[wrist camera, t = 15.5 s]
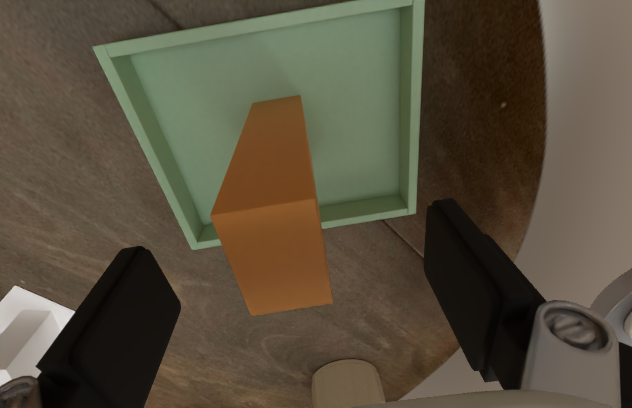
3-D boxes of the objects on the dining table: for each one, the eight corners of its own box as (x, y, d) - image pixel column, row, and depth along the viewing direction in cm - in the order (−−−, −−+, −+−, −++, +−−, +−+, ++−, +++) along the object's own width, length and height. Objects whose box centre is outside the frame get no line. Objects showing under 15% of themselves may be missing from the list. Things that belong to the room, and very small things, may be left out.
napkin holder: (12, 284, 26) (-52, 347, 21) (138, 338, 31) (110, 399, 26) (-52, 361, 30) (-115, 428, 26) (66, 397, 35) (32, 458, 31)
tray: (408, -10, 16) (425, -13, 14) (404, 195, 24) (416, 213, 22) (115, 41, 17) (91, 46, 15) (200, 229, 24) (191, 250, 22)
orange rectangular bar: (300, 94, 19) (314, 198, 8) (311, 161, 21) (333, 303, 11) (252, 103, 19) (208, 215, 9) (269, 168, 21) (250, 316, 11)
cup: (376, 354, 35) (389, 406, 31) (378, 389, 40) (390, 439, 35) (306, 365, 35) (309, 418, 31) (316, 398, 40) (320, 449, 35)
